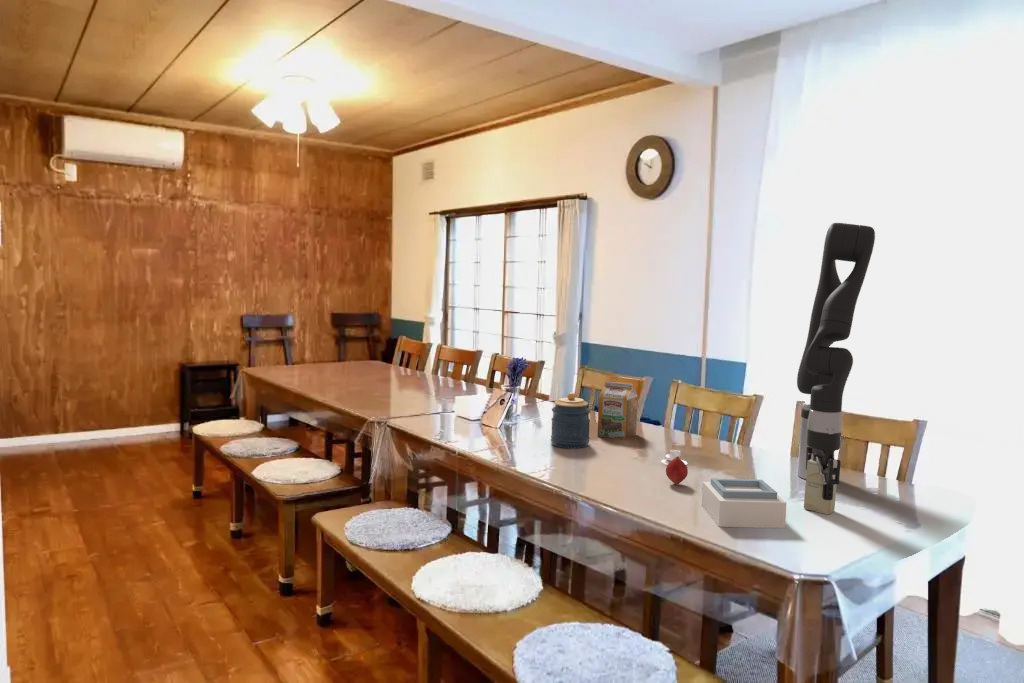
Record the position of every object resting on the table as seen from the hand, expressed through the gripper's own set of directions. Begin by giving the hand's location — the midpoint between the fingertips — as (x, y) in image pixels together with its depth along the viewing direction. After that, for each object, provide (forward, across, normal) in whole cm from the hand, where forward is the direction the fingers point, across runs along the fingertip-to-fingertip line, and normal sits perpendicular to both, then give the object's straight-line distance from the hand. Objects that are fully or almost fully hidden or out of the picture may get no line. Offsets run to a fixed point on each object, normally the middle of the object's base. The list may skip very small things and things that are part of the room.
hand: (820, 494), depth 170 cm
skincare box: (+4, 0, 0) cm, 4 cm away
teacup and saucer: (+5, -44, -24) cm, 50 cm away
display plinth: (+4, +6, -21) cm, 22 cm away
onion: (+4, -19, -31) cm, 37 cm away
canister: (+4, -63, -57) cm, 85 cm away
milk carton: (+4, -79, -39) cm, 88 cm away
